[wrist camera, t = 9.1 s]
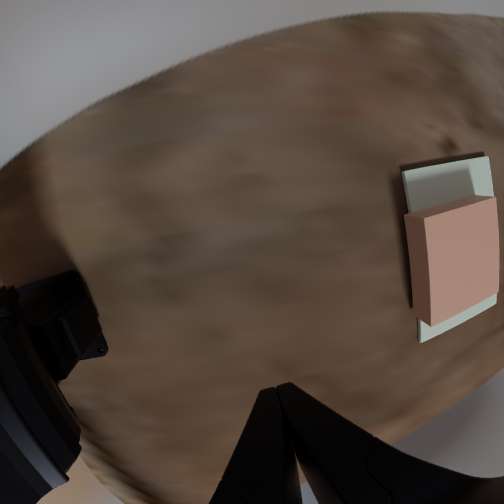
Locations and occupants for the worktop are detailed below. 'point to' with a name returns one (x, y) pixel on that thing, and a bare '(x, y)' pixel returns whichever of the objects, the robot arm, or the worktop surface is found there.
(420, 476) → the robot arm
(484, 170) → the mat
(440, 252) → the block
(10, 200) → the worktop surface
